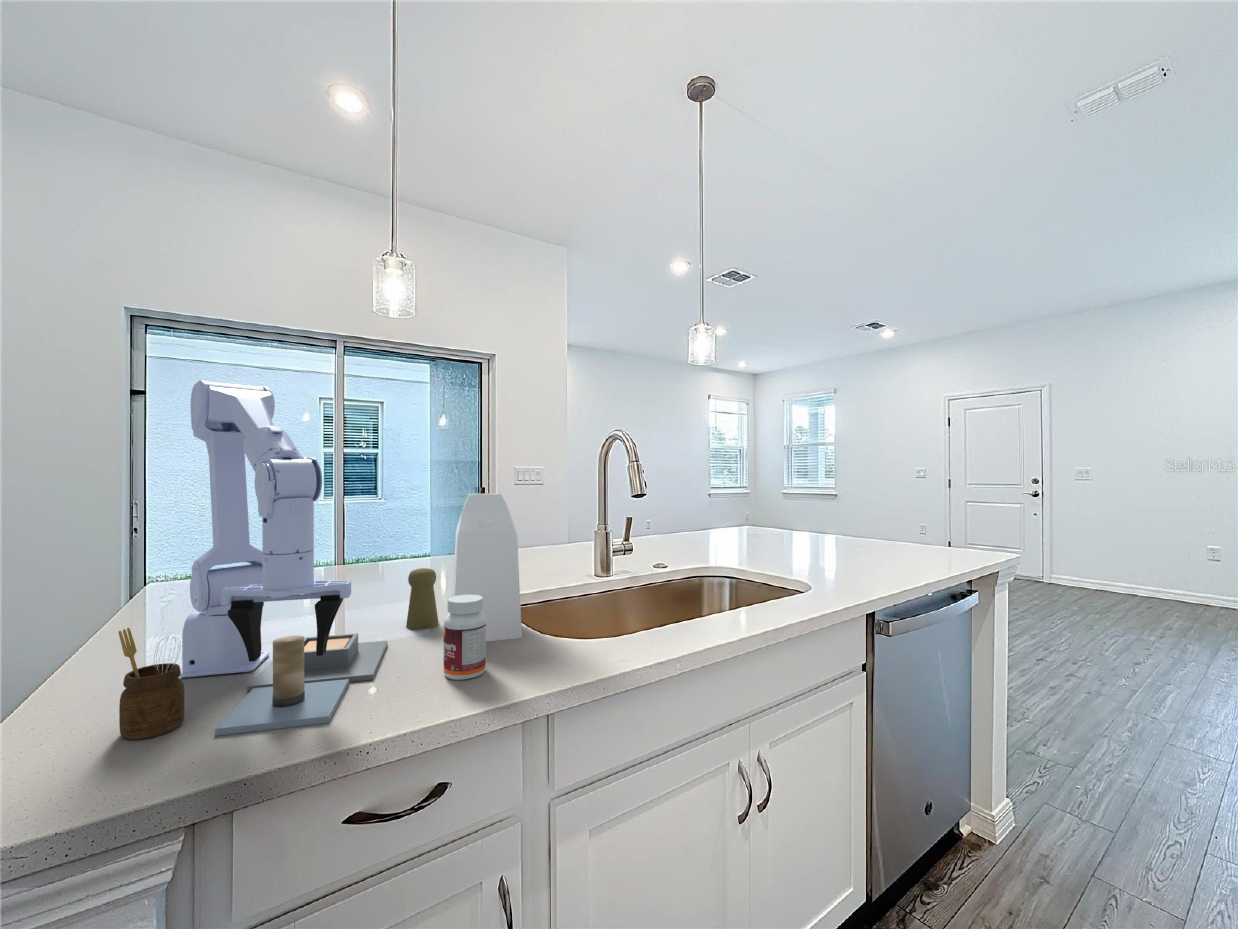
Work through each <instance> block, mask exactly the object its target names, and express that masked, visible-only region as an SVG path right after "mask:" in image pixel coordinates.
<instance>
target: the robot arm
mask: <svg viewBox="0 0 1238 929" xmlns="http://www.w3.org/2000/svg"><path fill="white" fill-rule="evenodd" d="M275 403H276V402H275V397H274V394H273V391H271V389H270V388H269V386H266V385H265V386H264V385H261V386H256V385H255V386H254V385H244V384H233V383H223V382H213V381H205V380H203V379H202V380H201V379H199V380H198V381H197V382H196V383H195V384H194V385H193V386H192V389H191V394H190V404H189V405H190V420H191V421H190V422H191V429H192V434H193V437H195V438H197V439H199V440H201V441H203V442H205V445H206V450H207V453H208V464H209V484H210V486H209V487H210V504H211V505H210V506H211V526H212V528H211V529H212V530H211V531H212V547H211V548H210V549H209V550H207V551H205V553H203V554H202V555H200V556H199V557H198V558H197V559H195V560H194V562H193V563H192V566H191V577H190V582H189V595H190V602H191V605H192V607H193V609H194V610H196V611H193V612H191V613H190V614H189V615H188V616H187V617H186V619H185V621H184V624H183V628H182V636H181V643H182V644H181V647H182V648H181V649H182V650H181V651H182V652H181V655H182V656H181V659H182V660H181V663H182V665H181V668H182V670H181V675H180V677H179V678H180V679H181V678H183V679H184V678H191V677H205V676H214V675H225V674H235V673H236V674H237V673H247V672H248V673H249V672H252V671H254V670H255V669H256V668H257V667H258V666H259V665H260V664H262V662H263V661H265V659H266V658H268V657H269V656H270V651H262V632H261V629H262V628H261V627H262V616H263V608H264V607H265V602H266V603H267V602H280V601H282V602H283V601H299V600H300V601H301V600H312V599H314V600H315V599H319V600H318V601H317V602H316V603H315V604H314V612H315V620H316V621H315V622H316V636H317V642H316V654H317V656H322V655H323V654H324V653H325V652H326V647H327V641H328V637H329V635H330V633H331V629H332V626H333V623H334V621H335V619H336V616H337V614H338V611H339V610H340V607H341V605H342V603H343V601H344V599H348V598H350V597H351V595H352V580H316V579H315V580H314V578H315V574H314V573H315V569H314V568H315V566H314V565H315V562H314V561H315V558H314V557H315V553H314V552H315V548H314V546H315V544H314V543H315V542H314V540H315V539H314V538H315V537H314V536H315V535H314V534H315V533H314V532H315V529H314V528H315V527H314V526H315V523H314V522H315V516H314V515H315V513H314V512H315V507H314V506H315V504H314V503H315V502H316V501H317V500H319V498H320V496H321V494H322V488H323V475H322V470H321V466H320V463H319V462H318V460H317V459H316V458H315V457H309V456H305V455H304V456H303V455H302V454H301V453H300V451H299V449H298V448H297V446H296V444H295V443H294V442H293V440H292V439H291V437H290V436H289V434H288V433H287V432H286V431H285V430H284V429H282V427H280V426H279V427H276V426H275V425H274V423H273V418H274V414H275V407H276V405H275ZM246 459H247V460H248V462H249V464H250V466H251V467H252V469H253V471H254V473H255V474H254V492H255V496H256V498H257V512H258V516H259V517H261V518H262V520H261V522H262V526H261V527H262V530H261V531H262V533H261V535H262V537H261V538H262V544H261V545H262V548H261V549H262V550H261V549H259V548H258V547H256V546H253V545H252V544H251V543H250V540H251V538H250V523H249V521H250V520H249V505H248V490H247V489H248V488H247V474H246V473H247V472H246ZM240 563H248V564H244V565H237V566H228V567H227V566H226V567H220V568H219V567H218V568H213V567H216V566H223V565H230V564H231V565H233V564H240Z"/></svg>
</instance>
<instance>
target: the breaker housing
mask: <svg viewBox="0 0 1238 929" xmlns="http://www.w3.org/2000/svg"><path fill="white" fill-rule="evenodd" d="M303 637H304V647H305V646H306V644H307V643H308V642H309V641H317V635H316V636H303ZM343 638H350V641H349V642H348V644H347V645H346V647H345V648H338V649H327V650H326V652H325V653H324V654H323V655H322V656H317V654H316V650H315V651H304V683H314V682H324V681H334V680H345V679H349V683H354V681H355V682H365V681H373V680H374V678H375V676H376V674H377V671H378V669H379V666H380V664H381V662H382V659H383V657H384V655H385V652H386V649H387V648H388V640H381V641H380V640H379V641H369V642H368V641H366V642H364V641H363V642H359V632H358V633H357V632H356V633H355V632H354V633H346V634H345V633H343V634H331V635H330V634H329V637H328V640H331V639H343ZM380 661H381V662H380ZM263 687H273V660H272V661H271V662H269V663H268V665H267V666H266V667H265V668H264V669H263V670H262V671H261V672H260V673H259V674H258V675H257V676H256V677H255V678H254V679H253V680H252V681H251V682H250V683H249V684H248V685H247V693H249V692H250V691H251V690H252V689H253V688H263Z"/></svg>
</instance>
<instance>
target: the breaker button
mask: <svg viewBox="0 0 1238 929" xmlns="http://www.w3.org/2000/svg"><path fill="white" fill-rule="evenodd" d="M349 641H350V638H343V639H331V640H328V641H327V647H326V650H327V649H338V648H345V647H346V645H347V644H348V642H349ZM316 642H317V641H309V642H308V643H307V644H306V646H305V647H304V651H315V650H316Z"/></svg>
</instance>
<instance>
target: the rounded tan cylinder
mask: <svg viewBox="0 0 1238 929" xmlns="http://www.w3.org/2000/svg"><path fill="white" fill-rule="evenodd" d="M304 637H305V636H303V635H297V634H295V635H286V636H281V637H278V638H275V639H274V640H273V641H272V661H273V696H272V705H273V706H274V707H289V706H293V705H296V704H299V703H301V702H302V701H304V699H305V690H304Z"/></svg>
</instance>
